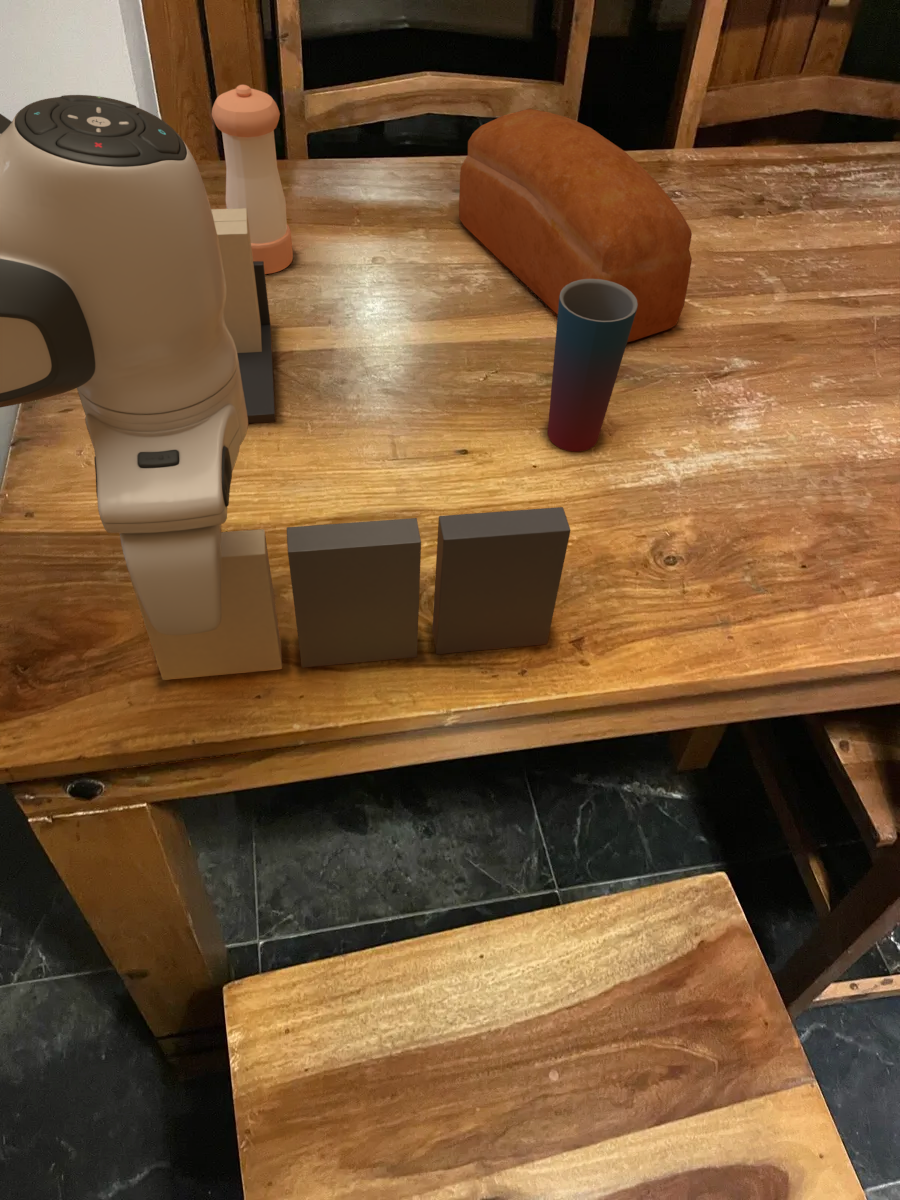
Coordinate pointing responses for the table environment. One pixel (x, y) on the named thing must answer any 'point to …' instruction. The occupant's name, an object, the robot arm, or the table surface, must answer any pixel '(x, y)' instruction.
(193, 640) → the brown flat block
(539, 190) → the bread
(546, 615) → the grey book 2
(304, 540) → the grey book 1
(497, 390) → the table surface
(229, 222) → the book rack
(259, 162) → the pepper shaker
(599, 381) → the cup
